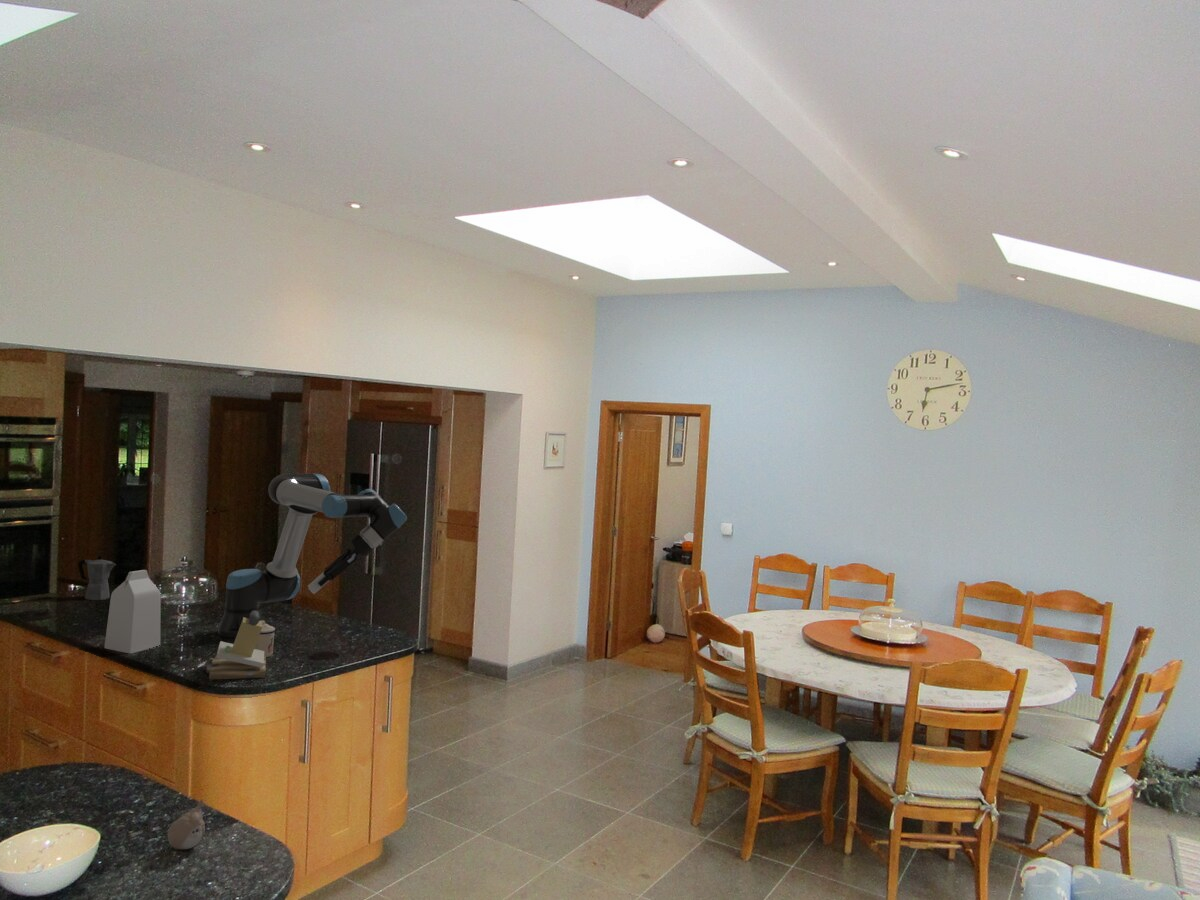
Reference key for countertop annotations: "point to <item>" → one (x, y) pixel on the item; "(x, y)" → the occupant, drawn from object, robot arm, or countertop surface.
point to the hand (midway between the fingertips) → (310, 590)
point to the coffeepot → (97, 578)
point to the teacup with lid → (266, 639)
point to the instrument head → (244, 643)
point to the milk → (134, 615)
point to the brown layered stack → (234, 670)
